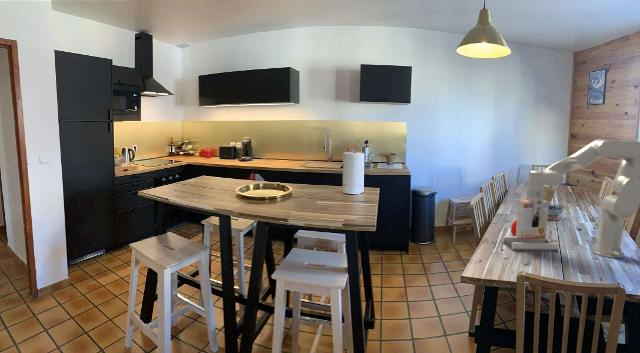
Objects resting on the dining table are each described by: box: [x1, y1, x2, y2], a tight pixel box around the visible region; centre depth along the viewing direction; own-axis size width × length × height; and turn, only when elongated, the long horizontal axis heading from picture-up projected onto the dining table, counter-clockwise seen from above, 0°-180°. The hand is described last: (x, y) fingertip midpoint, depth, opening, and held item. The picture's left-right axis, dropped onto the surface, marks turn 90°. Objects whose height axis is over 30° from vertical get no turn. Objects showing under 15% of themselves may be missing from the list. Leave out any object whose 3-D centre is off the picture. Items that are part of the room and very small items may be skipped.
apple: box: [510, 219, 517, 237], centre depth 209 cm, size 10×10×12 cm
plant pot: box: [543, 186, 556, 205], centre depth 286 cm, size 15×15×16 cm
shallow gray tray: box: [502, 235, 559, 252], centre depth 198 cm, size 12×24×4 cm, turn 89°
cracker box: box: [516, 199, 550, 239], centre depth 196 cm, size 14×6×21 cm, turn 92°
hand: (531, 224), depth 197 cm, fingers closed on cracker box, 6 cm apart
